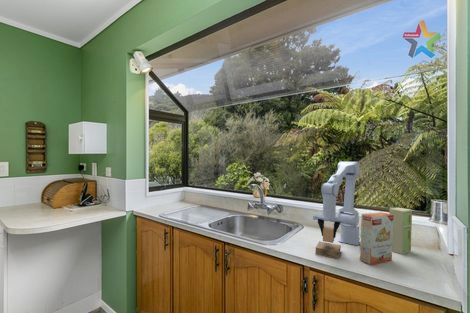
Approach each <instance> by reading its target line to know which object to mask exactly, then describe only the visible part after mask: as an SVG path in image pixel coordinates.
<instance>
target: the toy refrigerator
mask: <svg viewBox="0 0 470 313" xmlns="http://www.w3.org/2000/svg"><path fill="white" fill-rule="evenodd" d="M388 212H389V213H388V214H392V215H394V218H393V242H392V252H394V253H397V254H400V255H406V254H409V253H411V252H412V228H413V227H412V222H413V221H412V219H413V209H411V208H410V209H409V208H404V207H391V208H389V211H388Z"/></svg>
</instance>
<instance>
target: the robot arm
mask: <svg viewBox="0 0 470 313" xmlns="http://www.w3.org/2000/svg"><path fill="white" fill-rule="evenodd" d="M360 169H361V167H360V164H359V162H358V161H342V160H340V161H339V162H338V163H337V171H336V173H335V174H332V175H331V176H330V178H329V179H328V180H327V182H324V183H322V184H321V188H320V191H321V197H322V215H318V214H313V215H312V220H313V221H314V220H317V224H318V228H320V232H321V237H323V228H324V226H325V222H331V223H333V228H334V235H333V238H334V239H336V235H337V233H338V232H337V231H338V229H339V227H340V237H339V239H338V240H339V241H338V242H339V243H344V244H349V245H356V246H359V245H360V244H359V243H360V242H361V237H360V226H358V225H359V222H360V217H359V216H360V215H359V212H358V210H357V209H356V208H354V204H355V189H356V181H357V180H356V179H357V178H359V177H360ZM343 178H345V184H344V185H345V186H344V187H345V188H344V196H343V207H341V208H340V209H338V212H337V213H338V214H337V213H336V210H337V209H336V207H337V203H336V202H337V196H338V194H339V190H340V186H341V184H343ZM336 214H337V216H336Z"/></svg>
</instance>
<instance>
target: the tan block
mask: <svg viewBox="0 0 470 313" xmlns="http://www.w3.org/2000/svg"><path fill="white" fill-rule="evenodd" d="M333 235H334V226H333V227H332V226H325V225H324V228H323V236H322V242H325V243H331V244H334V242H335V238H333Z"/></svg>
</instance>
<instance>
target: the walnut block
mask: <svg viewBox="0 0 470 313" xmlns="http://www.w3.org/2000/svg"><path fill="white" fill-rule="evenodd" d="M341 248H342V247H341V244H336V243H330V242H325V241H320V240H319V241H318V243H317V244H316V246H315V255H319V256H324V257H328V258H333V259H339V258H340V255H341Z"/></svg>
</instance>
